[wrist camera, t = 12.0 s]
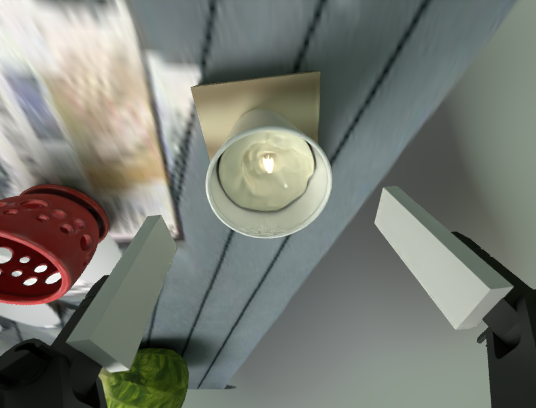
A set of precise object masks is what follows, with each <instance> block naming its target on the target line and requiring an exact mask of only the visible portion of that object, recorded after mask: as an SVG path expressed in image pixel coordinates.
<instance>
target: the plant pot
mask: <svg viewBox="0 0 536 408" xmlns="http://www.w3.org/2000/svg"><path fill="white" fill-rule="evenodd" d="M108 228H109V224H108V219H107V217H106V215H105V213H104V211H103V210H102V208H101V207H100V206H99V205H98V204H97V203H96V202H95V201H94V200H92V199H91V198H90V197H88V196H87V195H85V194H83V193H81V192H79V191H77V190H74V189H72V188H68V187H65V186H59V185H38V186H34V187H32V188H29V189H27V190H25V191H24V192H22V193H21V194H20V196H14V197H10V198H6V199H2V200H0V247H3V248H7V249H9V250H10V251H11V252H12V258H11V259H10V260H9V261H8V262H6V263H2V264H0V271H1V274H0V302H1V303H7V304H16V305H17V304H18V305H35V304H43V303H47V302H51V301H54V300H56V299H58V298H60V297H62V296H63V295H64V294H66V293H67V292H68V291H69V289H70V288H71V287H72V286H73V285H74V283H75V282H76V281H77V280H78V278H79V277H80V276H81V274H82V273H83V271H84V270H85V268H86V267H87V265H88V264H89V262H90V261H91V259H92V257H93V255H94V253H95V251H96V248H97V245H98V243H100V242H101V241H102V240H103V239H104V238H105V237H106V235H107V233H108ZM23 257H27V258H29V259H30V260H29V262H27V263H21V262H20V259H21V258H23ZM41 265H46V266H47V269H46V270H45V271H44V272H40V273H37V272H35V271H34V270H35V268H36V267H38V266H41ZM14 271H21V272H22V274H21V275H20V276H17V277H14V276H12V275H11V274H12V272H14ZM58 272H60V274H61V277H62V278H61V279H59V280H58V281H57V282H55V283H53V284H46V283H45V281H46V279H47V278H48V277H49V276H51V275H53V274H55V273H58ZM30 278H36V279H37V282H36V283H34V284H33V285H29V286H26V285H24V284H23V283H24V282H25V281H26V280H28V279H30Z"/></svg>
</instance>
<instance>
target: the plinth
mask: <svg viewBox="0 0 536 408" xmlns="http://www.w3.org/2000/svg"><path fill="white" fill-rule="evenodd" d="M320 74H321V72H320V71H309V72H301V73H293V74H285V75H276V76H268V77H260V78H252V79H244V80H236V81H228V82H219V83H211V84H203V85H196V86H193V87H191V91H192V95H193V98H194V102H195V106H196V110H197V113H198V117H199V121H200V124H201V128H202V132H203V135H204V139H205V143H206V147H207V150H208V154H209V158H210V161H211V160H212V159H213V157H214V155H215V154H216V152H217V151H218V150H219V148H220V147H221V145H222V144H223V142H224V140H225V138H226V137H227V135H228V133H229V132H230V130H231V128H232V127H233V125H234V124H235V122H236V121H237V120H238V119H239V118H240V117H241V116H242V115H244V114H245V113H247V112H249V111H251V110H254V109H260V108H266V109H272V110H275V111H277V112H279V113H281V114H283V115H284V116H285V117H287V118H288V119H289V120H290V121H291V122H292V123H293V124H295V125H296V126H297V127H298V128H299V129H300V130H301V131H302V132H303V133H305V134H306V135H307V136H309V137H310V138H312V139H313V140H314V141H315V142H316V143H317V144H318V136H319V105H320Z"/></svg>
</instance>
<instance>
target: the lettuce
mask: <svg viewBox="0 0 536 408" xmlns="http://www.w3.org/2000/svg"><path fill="white" fill-rule="evenodd" d="M98 376H99V377H100V379H101V380H102V384H103V388H104V393H105V397H106V402H107V406H108V408H181V407H182V405H183V402H184V400H185V396H186V392H187V388H188V380H189V372H188V368H187V364H186V362H185V361H184V359H183V358H182V357H181V356H180V355H179V354H178V353H176V352H175V351H173V350H170V349H166V348H145V349H139V350H137V353H136V355H135V358H134V360H133V363H132V365H131V368H130V370H127V371H119V372H109V371H108V370H106V369H105V368H103V367H102V369H101V371H100V373H99V375H98Z"/></svg>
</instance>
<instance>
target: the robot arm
mask: <svg viewBox="0 0 536 408" xmlns="http://www.w3.org/2000/svg"><path fill="white" fill-rule="evenodd" d="M375 225H376V226H377V227H378V229H379V230H380V231H381V232H382V234H383V235H384V236H385V238H386V239H387V240H388V242H389V243H390V244H391V246H392V247H393V248H394V250H395V251H396V252H397V253H398V255H399V256H400V257H401V259H402V260H403V261H404V263H405V264H406V265H407V267H408V268H409V269H410V271H411V272H412V273H413V274H414V276H415V277H416V278H417V280H418V281H419V282H420V284H421V285H422V286H423V287H424V289H425V290H426V291H427V293H428V294H429V295H430V297H431V298H432V299H433V301H434V302H435V303H436V305H437V306H438V307H439V309H440V310H441V311H442V312H443V313H444V315H445V316H446V318H447V319H448V320H449V321H450V323H451V324H452V326H453V327H454V328H455V329H456V330H458V329H466V328H474V327H476V326H477V325H478V324H479V322H480V321H481V320H483V321H484V322H485V323H486V324H487V325H488V326H489V327H488V328H487V329H486V330H485V331H484V332H483V333H482V334H481V335H480V336H479V337H478V339H477V342H478V343H482V342H483V341H484V340H485V339H486V340H487V345H486V347H487V353H488V367H489V380H490V393H491V407H492V408H536V289H534V290H533V289H532V288H530V287H529V286H528V285H526V284H525V283H524V282H523V281H521V280H520V279H519V278H518V277H517V276H515V275H514V274H513V273H512V272H510V271H509V270H508V269H507V268H505V267H504V266H503V265H502V264H501V263H499V262H498V261H497V260H496V259H494V258H493V257H490V255H489V254H488V253H487V252H486V251H484V250H483V249H481V247H480V246H478V245H477V244H476V243H475V242H473V241H472V240H471V239H470V238H468V237H466V236H464V235H462V234H460V233H458V232H450V231H449V230H447V229H446V228H445V227H444V226H443V225H441V224H440V223H439V222H438V221H437V220H436V219H435V218H433V217H432V216H431V215H430V214H429V213H428V212H426V211H425V210H424V209H423V208H422V207H421V206H419V205H418V204H417V203H416V202H415V201H414V200H412V199H411V198H410V197H409V196H407V194H405V193H404V192H403V191H402V190H401V189H400V188H398V187H397V186H391V187H384V188H383V191H382V195H381V199H380V204H379V207H378V211H377V215H376V219H375ZM176 250H177V246H176V244H175V242H174V240H173V238H172V236H171V234H170V232H169V230H168V228H167V226H166V224H165V222H164V220H163V218H162V216H161V215H156V216H148V217H147V219H146V220H145V222H144V223H143V225H142V226H141V228H140V229H139V231H138V232H137V234H136V235H135V237H134V239H133V240H132V242H131V243H130V245H129V246H128V248H127V249H126V251H125V252H124V254H123V255H122V257H121V259H120V260H119V261H118V263H117V264H116V266H115V268H114V269H113V271H112V272H111V274H110V275H105V276H103V277H102V278H101V279H100V280H99V281H97V282H96V283H95V284H94V285H93V286H92V288H91V289H90V291H89V292H88V293H87V295H86V296H85V299H83V301H82V302H81V303H80V305H79V306H78V307H79V308H78V309H76V311H75V312H74V313H73V315H72V316H71V318H70V319H69V321H68V322H67V324H66V325H65V326H64V328H63V329H62V331H61V332H60V334H59V335H58V336H57V338H56V339H55V341H54V342H53V344H52V345H51V346H49V345H47V344H46V343H44V342H42V341H41V340H39V339H35V338H33V339H29V340H25V341H23V342H21V343H19V344H17V345H15V346H13V347H12V348H11V349H9V350H8V351H6V352H5V353H4V354H3V355H2V356H0V408H108V406H107V402H106V397H105V393H104V388H103V384H102V380H101V379H100V377H99V376H98V375H99V373H100V371H101V369H102V367H103V368H105V369H106V370H108V371H109V372H119V371H127V370H130V368H131V365H132V363H133V360H134V358H135V355H136V353H137V350H138V347H139V345H140V342H141V340H142V337H143V335H144V332H145V329H146V327H147V324H148V322H149V319H150V317H151V314H152V311H153V309H154V306H155V304H156V301H157V299H158V296H159V293H160V291H161V288H162V286H163V283H164V281H165V278H166V275H167V273H168V270H169V268H170V265H171V263H172V260H173V257H174V255H175V252H176Z"/></svg>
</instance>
